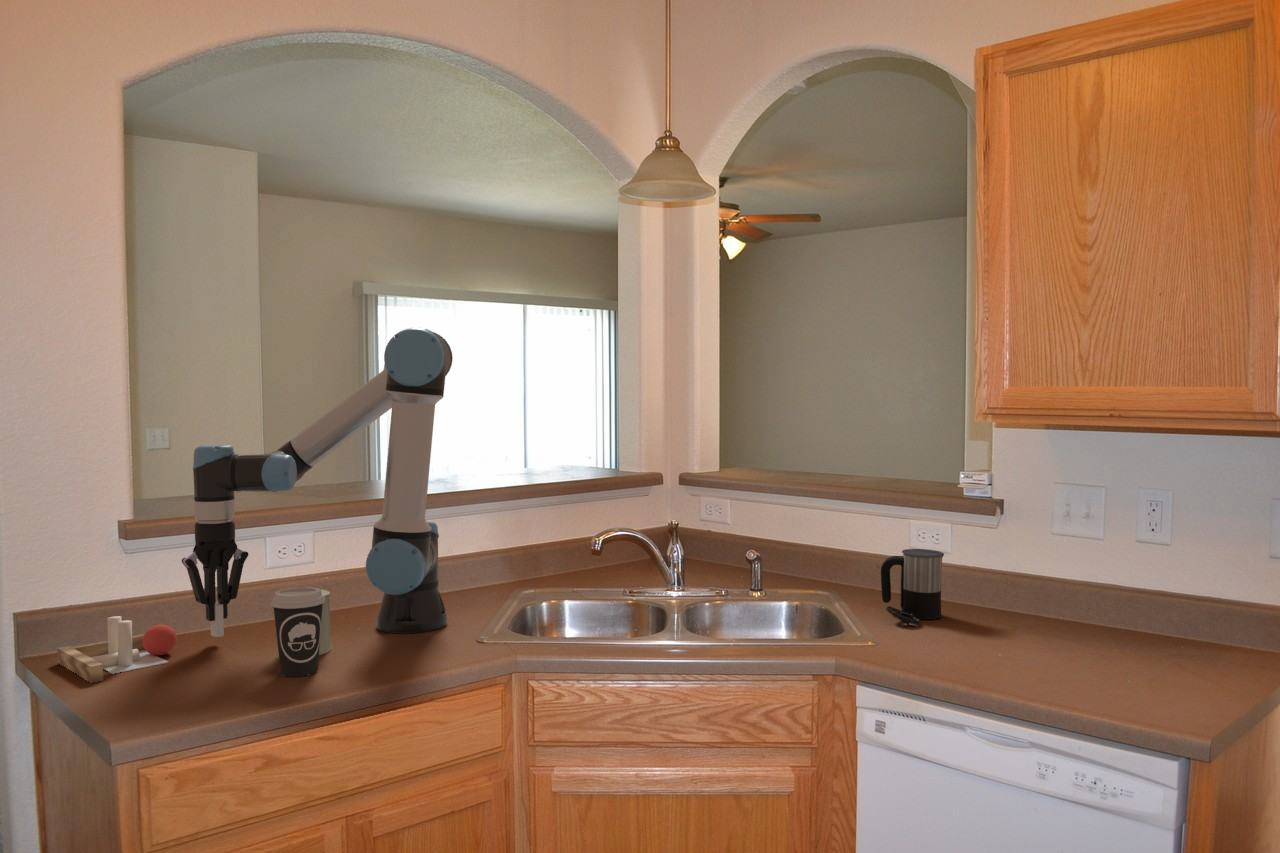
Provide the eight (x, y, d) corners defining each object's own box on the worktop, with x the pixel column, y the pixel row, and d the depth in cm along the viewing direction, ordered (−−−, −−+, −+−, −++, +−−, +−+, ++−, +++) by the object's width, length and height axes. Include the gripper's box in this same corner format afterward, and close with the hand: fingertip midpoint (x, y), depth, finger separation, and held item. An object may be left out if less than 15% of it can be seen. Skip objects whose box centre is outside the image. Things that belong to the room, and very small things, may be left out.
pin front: (139, 649, 186) (90, 658, 179) (139, 662, 186) (91, 671, 180) (134, 647, 187) (86, 656, 181) (135, 660, 187) (86, 669, 181)
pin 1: (124, 661, 186) (123, 617, 186) (111, 663, 184) (110, 619, 184) (120, 658, 188) (118, 615, 187) (106, 661, 186) (105, 617, 186)
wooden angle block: (193, 661, 186) (193, 646, 185) (91, 683, 172) (90, 666, 172) (156, 645, 198) (156, 630, 198) (58, 663, 184) (57, 648, 184)
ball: (145, 655, 185) (176, 658, 190) (153, 623, 187) (184, 627, 191) (134, 652, 190) (165, 655, 194) (142, 621, 191) (173, 625, 195)
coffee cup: (336, 666, 183) (335, 587, 182) (308, 681, 173) (306, 598, 173) (291, 662, 185) (289, 585, 184) (260, 677, 175) (259, 595, 175)
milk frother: (937, 611, 226) (937, 548, 225) (956, 628, 210) (957, 560, 210) (875, 611, 227) (876, 548, 226) (890, 627, 211) (890, 560, 210)
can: (272, 653, 191) (271, 593, 191) (308, 642, 199) (307, 585, 199) (306, 660, 187) (304, 598, 186) (341, 648, 195) (340, 589, 194)
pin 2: (134, 666, 183) (133, 621, 182) (121, 669, 181) (120, 623, 181) (129, 663, 184) (129, 619, 184) (116, 666, 183) (115, 621, 182)
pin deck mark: (168, 662, 185) (168, 661, 185) (112, 674, 178) (112, 673, 178) (144, 651, 193) (144, 650, 193) (89, 661, 186) (89, 660, 186)
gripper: (237, 515, 204) (240, 626, 205) (174, 522, 195) (176, 638, 196) (254, 519, 199) (256, 632, 200) (189, 526, 189) (192, 645, 190)
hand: (217, 635), depth 198 cm, fingers closed
